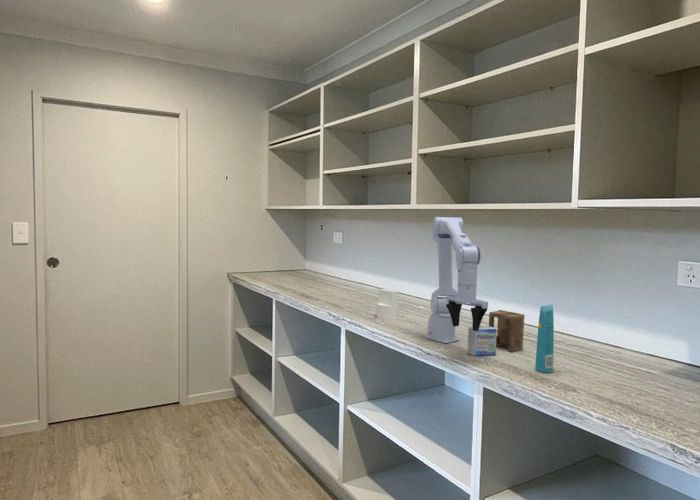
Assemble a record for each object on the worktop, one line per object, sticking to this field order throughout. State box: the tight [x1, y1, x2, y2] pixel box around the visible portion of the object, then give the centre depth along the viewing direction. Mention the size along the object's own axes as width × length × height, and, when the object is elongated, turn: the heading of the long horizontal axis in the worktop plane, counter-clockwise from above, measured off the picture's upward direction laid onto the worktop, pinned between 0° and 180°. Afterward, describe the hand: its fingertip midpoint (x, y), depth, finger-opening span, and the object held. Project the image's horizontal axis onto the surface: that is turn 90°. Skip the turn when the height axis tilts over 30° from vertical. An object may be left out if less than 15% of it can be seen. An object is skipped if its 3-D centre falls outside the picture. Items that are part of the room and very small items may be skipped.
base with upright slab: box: [376, 288, 399, 321], centre depth 212 cm, size 9×9×12 cm
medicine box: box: [467, 326, 497, 357], centre depth 158 cm, size 8×4×9 cm, turn 106°
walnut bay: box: [488, 309, 525, 353], centre depth 166 cm, size 9×6×12 cm
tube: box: [534, 303, 555, 373], centre depth 142 cm, size 7×5×19 cm, turn 139°
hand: (465, 328), depth 152 cm, fingers open, 7 cm apart
